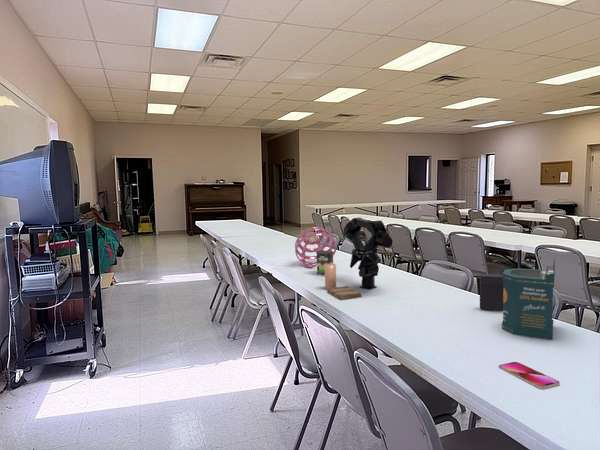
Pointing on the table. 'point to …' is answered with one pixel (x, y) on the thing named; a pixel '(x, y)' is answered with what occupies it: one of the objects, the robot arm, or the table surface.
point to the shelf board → (344, 292)
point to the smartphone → (529, 375)
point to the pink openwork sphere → (317, 241)
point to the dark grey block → (491, 292)
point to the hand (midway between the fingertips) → (354, 268)
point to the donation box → (529, 302)
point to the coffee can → (323, 261)
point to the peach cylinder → (330, 276)
